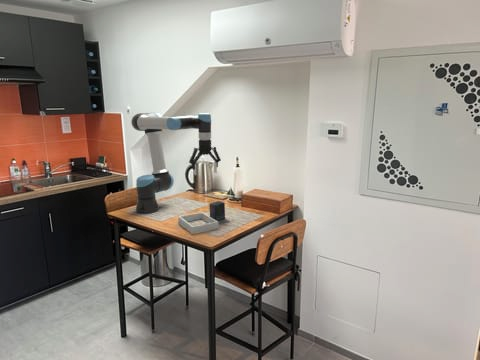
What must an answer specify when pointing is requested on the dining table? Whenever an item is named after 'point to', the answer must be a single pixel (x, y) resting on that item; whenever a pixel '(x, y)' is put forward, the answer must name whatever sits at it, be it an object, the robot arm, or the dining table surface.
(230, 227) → the dining table surface
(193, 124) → the robot arm
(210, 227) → the bin
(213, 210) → the box
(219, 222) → the mat
